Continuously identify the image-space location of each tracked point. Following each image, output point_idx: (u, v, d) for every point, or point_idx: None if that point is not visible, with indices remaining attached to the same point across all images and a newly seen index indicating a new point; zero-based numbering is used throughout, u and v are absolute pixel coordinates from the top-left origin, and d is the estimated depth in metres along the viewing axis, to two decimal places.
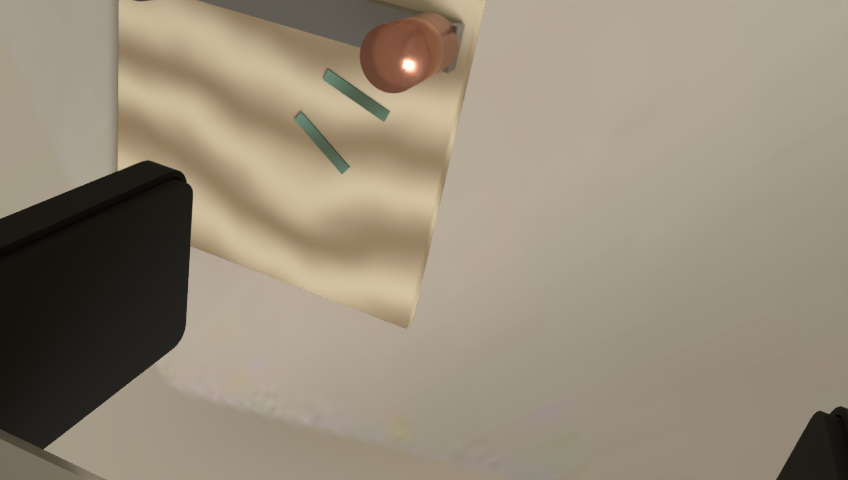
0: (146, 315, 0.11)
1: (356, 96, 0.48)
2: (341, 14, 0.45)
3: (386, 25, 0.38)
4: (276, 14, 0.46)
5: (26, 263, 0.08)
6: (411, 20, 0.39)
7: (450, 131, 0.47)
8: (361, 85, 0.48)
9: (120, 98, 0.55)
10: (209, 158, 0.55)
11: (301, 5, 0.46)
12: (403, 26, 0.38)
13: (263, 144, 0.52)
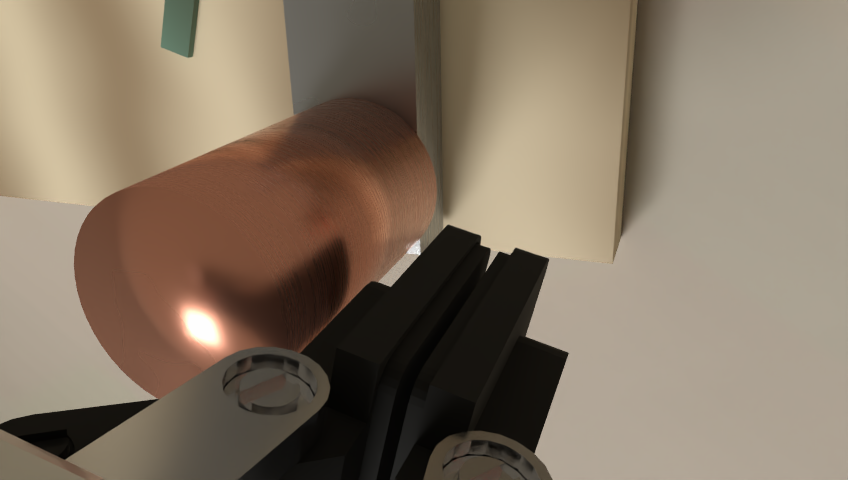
0: None
1: None
2: None
3: (271, 288, 0.10)
4: None
5: (420, 346, 0.08)
6: (354, 266, 0.12)
7: None
8: None
9: None
10: None
11: None
12: (294, 338, 0.10)
13: None
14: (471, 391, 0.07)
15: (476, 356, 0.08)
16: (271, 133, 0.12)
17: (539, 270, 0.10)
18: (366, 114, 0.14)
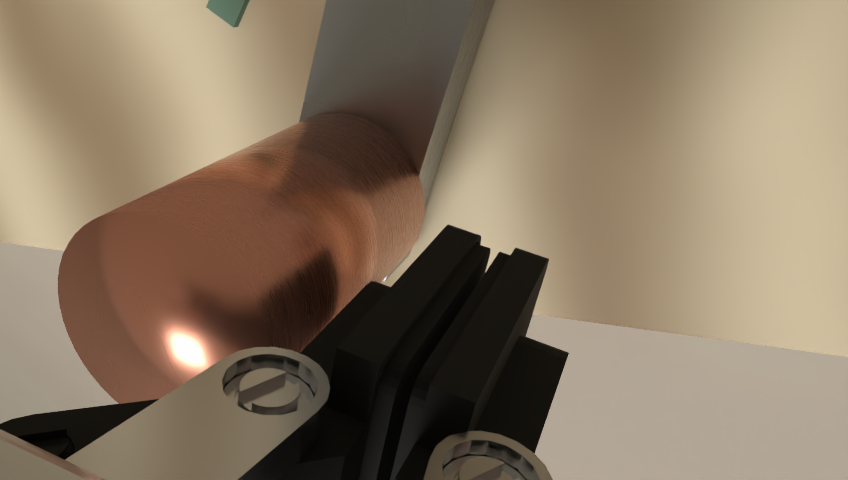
0: None
1: None
2: None
3: None
4: None
5: (420, 347, 0.08)
6: None
7: None
8: None
9: None
10: None
11: None
12: None
13: None
14: (472, 391, 0.07)
15: (476, 356, 0.08)
16: (289, 159, 0.12)
17: (539, 270, 0.10)
18: (378, 147, 0.14)
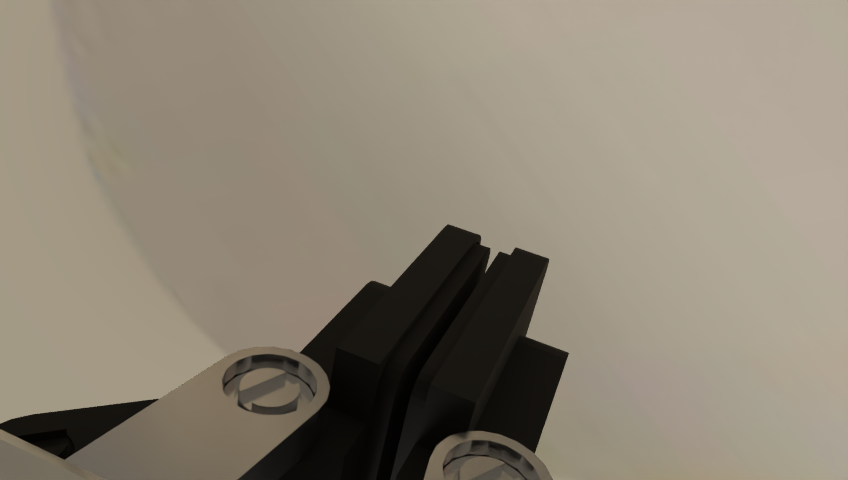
0: None
1: None
2: None
3: None
4: None
5: (420, 346, 0.08)
6: None
7: None
8: None
9: None
10: None
11: None
12: None
13: None
14: (471, 391, 0.07)
15: (477, 356, 0.08)
16: None
17: (539, 270, 0.10)
18: None
